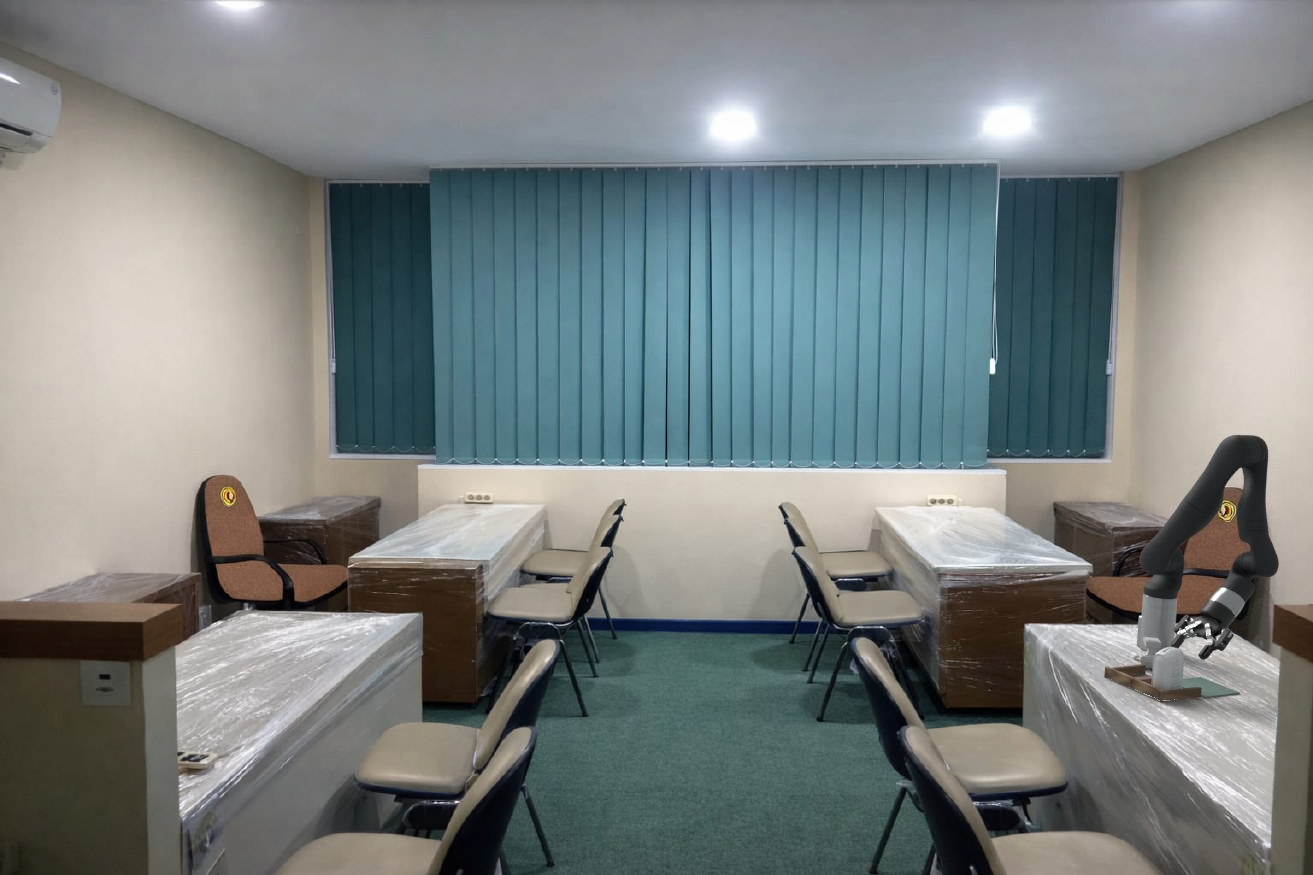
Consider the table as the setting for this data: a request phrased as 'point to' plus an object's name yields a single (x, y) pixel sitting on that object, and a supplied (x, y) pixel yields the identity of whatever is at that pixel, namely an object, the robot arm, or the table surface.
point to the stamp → (1148, 651)
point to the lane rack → (1147, 683)
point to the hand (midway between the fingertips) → (1187, 652)
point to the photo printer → (1168, 669)
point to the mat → (1208, 687)
